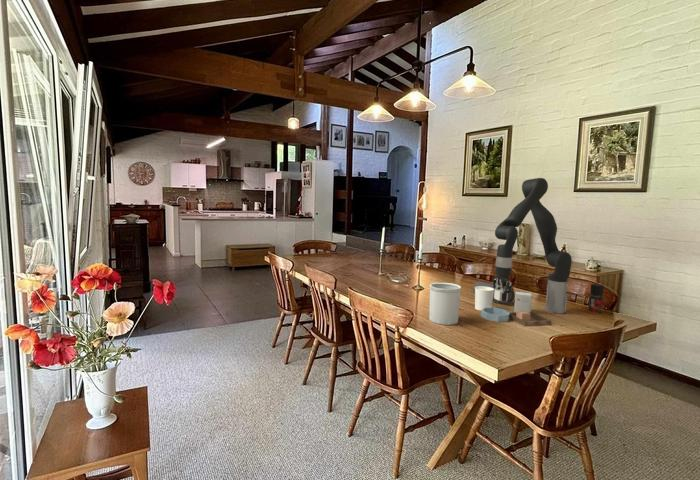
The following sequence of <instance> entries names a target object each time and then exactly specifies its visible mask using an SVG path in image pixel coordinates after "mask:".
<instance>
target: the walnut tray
mask: <svg viewBox="0 0 700 480" xmlns="http://www.w3.org/2000/svg"><path fill="white" fill-rule="evenodd" d="M529 313H531V314H530V321H527V322H525V321H523V320H521V319H519V318H517V317H516V312H514V311H513V312H510V319H509V320H512V321H514V322H516V323H518V324H520V325H522V326H523V327H533V326H551V325H552V320H550V319H548V318H546V317H544V316H542V315H540V314H537V313H535V312H533V311H531V312H529Z"/></svg>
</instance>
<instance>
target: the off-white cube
mask: <svg viewBox="0 0 700 480" xmlns="http://www.w3.org/2000/svg"><path fill="white" fill-rule="evenodd" d="M504 291H505V290H504ZM494 299H497V300H499V301H502V290H495V293H494ZM507 299H508V293H507ZM507 299H506V301H507Z"/></svg>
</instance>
